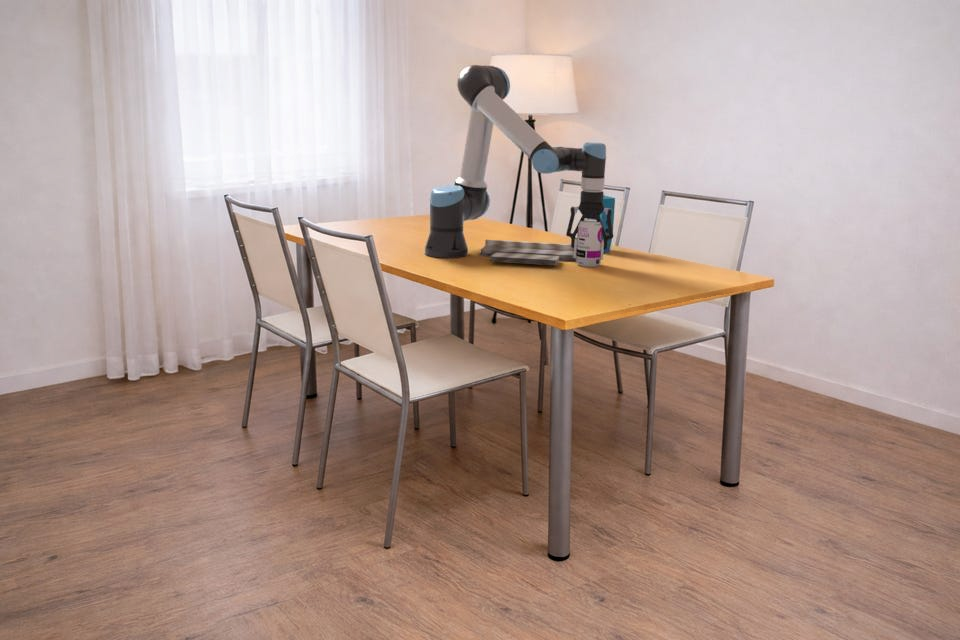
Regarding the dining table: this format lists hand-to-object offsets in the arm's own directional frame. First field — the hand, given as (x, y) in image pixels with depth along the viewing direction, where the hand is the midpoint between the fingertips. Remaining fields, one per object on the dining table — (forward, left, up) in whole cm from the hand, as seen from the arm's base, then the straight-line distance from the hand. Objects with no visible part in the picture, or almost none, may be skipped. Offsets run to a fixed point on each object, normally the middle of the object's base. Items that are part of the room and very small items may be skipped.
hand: (588, 258), depth 291 cm
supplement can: (0, 0, -2) cm, 2 cm away
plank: (-21, -4, -2) cm, 21 cm away
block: (+2, +28, -2) cm, 28 cm away
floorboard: (-20, +10, -2) cm, 22 cm away
